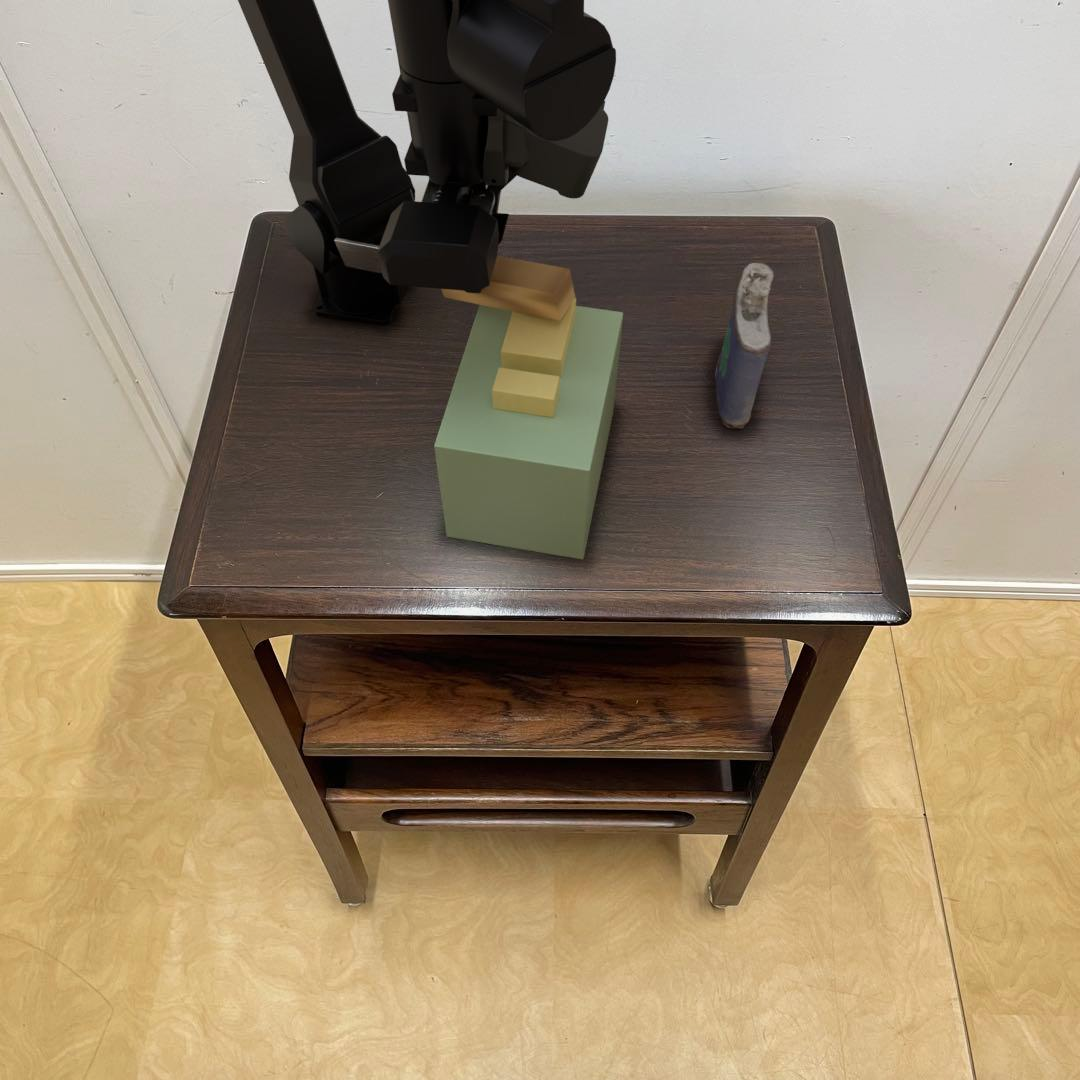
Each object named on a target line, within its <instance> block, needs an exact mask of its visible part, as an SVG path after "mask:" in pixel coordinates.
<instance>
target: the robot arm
mask: <svg viewBox="0 0 1080 1080" xmlns="http://www.w3.org/2000/svg"><path fill="white" fill-rule="evenodd" d="M237 2H238V5H239V7H240V10H241V11H242V14H243V16H244V19H245V21H246V23H247V26H248V28H249V30H250V33H251V36H252V38H253V41H254V42H255V45H256V47H257V50H258V52H259V54H260V57H261V60H262V61H263V64H264V67H265V69H266V72H267V74H268V76H269V78H270V81H271V84H272V85H273V88H274V90H275V93H276V95H277V97H278V101H279V102H280V105H281V107H282V110H283V112H284V115H285V117H286V120H287V122H288V124H289V127H290V130H291V132H292V136H293V139H292V148H291V157H290V165H289V167H290V168H289V174H288V179H289V183H290V186H291V188H292V191H293V194H294V196H295V200H296V202H297V205H298V206H297V207H296V208H294V210H292V211H291V212H290V213H288V215H286V216H285V217H283V218H282V225H283V227H284V229H285V232H286V233H287V236H288V238H289V241H290V243H291V245H292V246H293V247H294V248H295V249H296V250H297V252H299V253H300V254H301V255H302V256H303V257H304V258H305V259H306V260H307V261H308V262H309V263H310V264H311V265H312V266H313V270H314V274H315V279H316V282H317V286H318V291H319V296H318V299H317V301H316V303H315V305H314V312H315V315H317V316H321V317H326V318H333V319H341V320H346V321H355V322H360V323H367V324H368V323H369V324H375V325H381V326H386V325H389V324H390V323H391V320H392V319H393V316H394V314H395V313H394V312H395V311H396V307H397V306H399V305H400V304H401V301H402V299H403V298H404V295H405V291H406V289H407V287H411V288H413V287H414V288H423V289H437V290H438V289H439V290H441V289H450V290H463V291H465V292H467V293H481V291H482V289H484V288H486V287H487V286H489V285H490V281H491V277H492V274H493V270H494V266H495V262H496V259H497V256H499V255H498V254H499V245H500V244H501V243H502V241H503V238H504V235H505V232H506V227H507V224H508V221H509V217H510V214H509V213H504V212H499V206H500V200H501V194H502V191H503V189H504V188H506V187H507V186H508V185H509V184H510V183H511V182H512V181H513V180H514V179H515V178H516V177H518V178H521V179H524V180H527V181H530V182H532V183H535V184H537V185H540V186H543V187H545V188H546V187H547V188H549V189H551V190H554V191H556V192H557V193H558V195H560V196H562V197H565V198H568V199H572V200H573V199H579V198H582V197H583V196H584V195H585V193H586V190H587V189H588V185H589V184H590V181H591V179H592V176H593V174H594V172H595V169H596V167H597V164H598V163H599V160H600V158H601V156H602V153H603V149H604V144H605V139H606V135H607V131H608V125H609V115H608V113H607V112H606V110H605V105H606V98H607V96H608V94H609V93H610V90H611V86H612V83H613V80H614V76H615V71H616V66H617V65H616V64H617V50H616V48H615V47H614V45H613V41H612V38H611V34H610V32H609V31H608V29H607V28H606V26H605V25H604V24H603V23H602V22H601V21H599V20H598V19H597V18H595V17H593V16H592V15H590V14H588V13H587V12H585V0H387V4H388V10H389V16H390V22H391V27H392V33H393V39H394V45H395V50H396V55H397V63H398V68H399V76H398V77H397V81H396V83H395V85H394V89H393V91H392V93H391V95H392V102H393V106H394V111H395V112H406V115H407V120H408V128H409V132H410V137H411V138H410V139H411V140H410V143H409V146H408V148H407V150H406V154H405V156H404V159H403V161H404V166H403V163H402V160H401V157H400V153H399V150H398V146H397V144H396V143H395V142H394V140H393V139H392V138H390V136H388V135H383V136H382V135H381V134H380V133H378V132H377V131H376V130H375V129H374V128H372V127H371V126H370V124H368V123H366V121H364V120H363V119H362V118H361V117H360V116H359V115H358V113H357V111H356V108H355V106H354V104H353V101H352V100H353V99H352V98H351V95H350V92H349V90H348V88H347V84H346V82H345V79H344V77H343V74H342V71H341V69H340V66H339V64H338V61H337V58H336V55H335V52H334V50H333V47H332V46H331V42H330V39H329V37H328V34H327V31H326V29H325V26H324V23H323V21H322V18H321V16H320V13H319V11H318V7H317V5H316V2H315V0H237ZM411 176H421V177H428V182H427V184H426V187H425V190H424V192H423V196H422V199H421V201H416V189H415V187H414V185H413V182H412V178H411ZM335 238H341V239H346V240H352V241H357V242H363V243H368V244H373V245H379V249H378V252H377V253H378V257H379V262H380V266H381V270H382V273H377V272H372V271H367V270H362V269H357V268H352V267H347V266H345V264H344V262H343V259H342V257H341V255H340V253H339V250H338V248H337V246H336V243H335V241H334V240H335Z"/></svg>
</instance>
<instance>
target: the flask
mask: <svg viewBox="0 0 1080 1080" xmlns="http://www.w3.org/2000/svg"><path fill="white" fill-rule="evenodd" d="M774 278H775V272H774V270H773V268H771V267H770V266H769V265H768V264H767V263H764V262H752V263H749V264H746V266H745V267H744V268H743V269H742V272H741V274H740V277H739V280H738V283H737V286H736V289H735V293H734V296H733V297H734V298H733V303H732V308H731V311H730V314H729V320H728V325H727V329H726V333H725V337H724V340H723V344H722V349H721V352H720V354H719V356H718V361H717V363H716V368H715V373H714V375H715V378H714V383H715V384H714V385H715V399H716V400H715V401H716V403H715V404H716V408H717V409H716V412H717V416H718V417H719V420H720V422H721V423H722V425H723V426H725V427H727V428H729V429H744V427H746V425H747V424H748V423H749V422H750V419H751V416H752V410H753V408H754V403H755V400H756V395H757V392H758V388H759V385H760V382H761V377H762V375H763V372H764V369H765V364H766V361H767V358H768V356H769V351H770V349H771V347H772V339H773V338H772V337H773V336H772V334H771V329H770V324H769V298H770V291H771V290H772V287H773V283H774V280H775V279H774Z"/></svg>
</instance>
